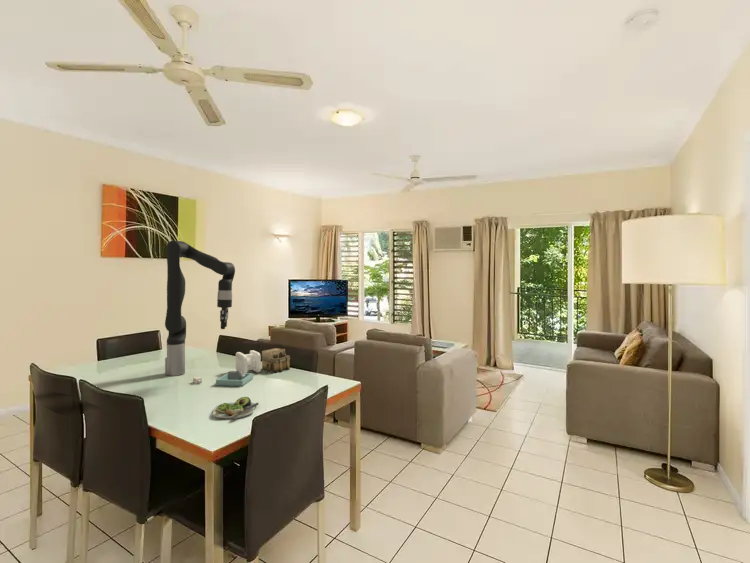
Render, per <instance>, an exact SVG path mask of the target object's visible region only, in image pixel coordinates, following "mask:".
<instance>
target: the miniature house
mask: <svg viewBox="0 0 750 563" xmlns="http://www.w3.org/2000/svg"><path fill="white" fill-rule="evenodd" d="M290 360H291V356H290V355H287V354H286V349H285V348H278V347H275V348H270V349H264V350H262V351H261V371H265V372H266V373H270V374H273V373H275V374H277V373H282V372H283V371H290V369H291V368H290Z"/></svg>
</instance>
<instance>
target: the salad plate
mask: <svg viewBox="0 0 750 563" xmlns="http://www.w3.org/2000/svg"><path fill="white" fill-rule="evenodd" d="M257 406H259V402H255V403H254V402H252V400H251V398H250V397H249V396H242V397H239V398H238V399H236V401H235V402H224V403H220V404H218V405H216V406H215V407H214V409H213V411H212V412H211V413H212V414H211V415H212V417H214V418H215V419H217V420H236V419H238V420H239V419H241V418H244V417H248V416H250V415H252V414H253V413H254V411H255V408H256V407H257ZM219 414H227V416H221V415H219Z"/></svg>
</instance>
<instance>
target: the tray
mask: <svg viewBox="0 0 750 563" xmlns="http://www.w3.org/2000/svg"><path fill="white" fill-rule="evenodd" d="M243 374H245V377H242V380H228V372H227V373H225V374H223V375H222V376H220V377H218V378H217V379H215V386H217V387H244V386H246V385H247V384H249V382H252V380H254V373H250V372H249V373H248V372H247V373H242V375H243Z"/></svg>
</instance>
